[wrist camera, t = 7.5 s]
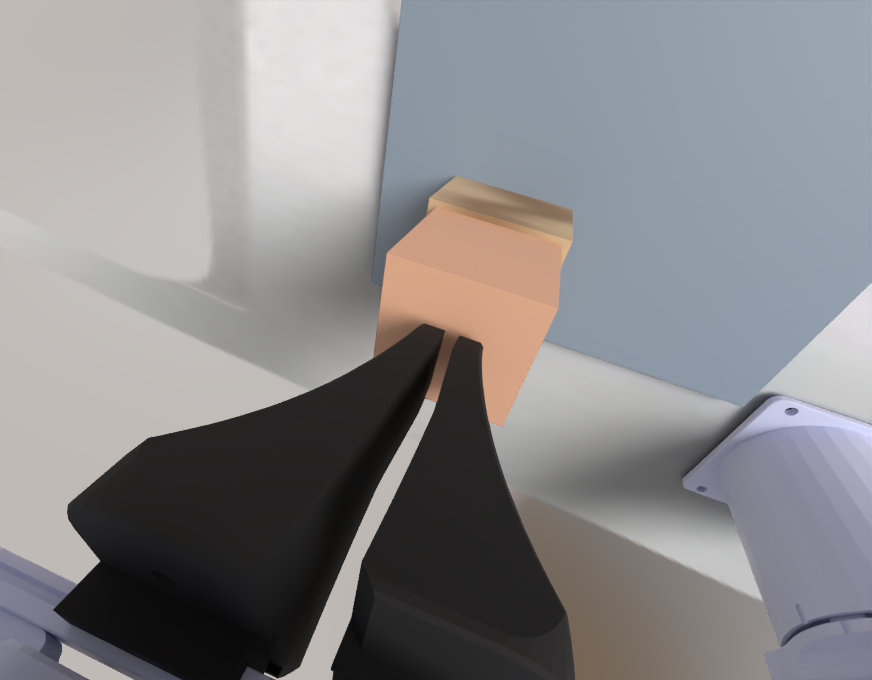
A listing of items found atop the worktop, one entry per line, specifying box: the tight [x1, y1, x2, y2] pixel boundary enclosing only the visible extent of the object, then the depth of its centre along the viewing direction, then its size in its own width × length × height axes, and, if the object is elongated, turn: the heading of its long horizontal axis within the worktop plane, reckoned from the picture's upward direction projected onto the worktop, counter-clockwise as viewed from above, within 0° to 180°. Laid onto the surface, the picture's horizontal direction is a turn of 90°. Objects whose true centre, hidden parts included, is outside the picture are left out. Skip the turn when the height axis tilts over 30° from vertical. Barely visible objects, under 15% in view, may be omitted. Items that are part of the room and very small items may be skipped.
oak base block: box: [426, 176, 573, 267], centre depth 16 cm, size 5×5×4 cm
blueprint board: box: [372, 0, 872, 407], centre depth 15 cm, size 20×16×1 cm
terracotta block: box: [373, 207, 562, 427], centre depth 13 cm, size 5×5×5 cm
